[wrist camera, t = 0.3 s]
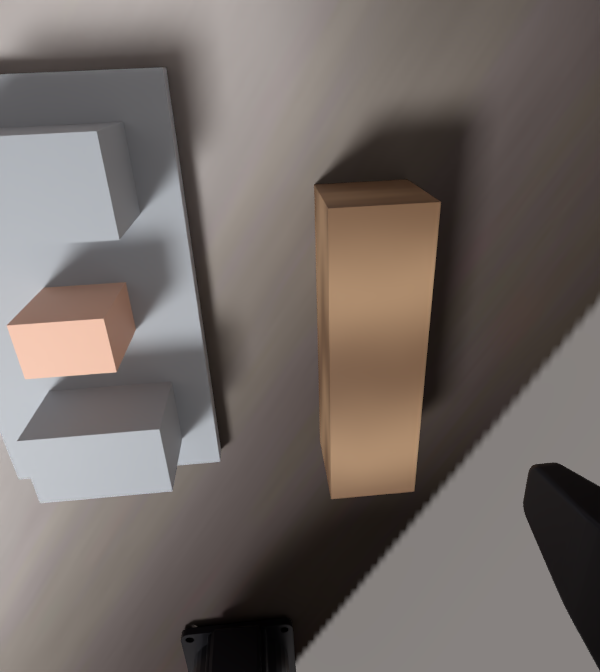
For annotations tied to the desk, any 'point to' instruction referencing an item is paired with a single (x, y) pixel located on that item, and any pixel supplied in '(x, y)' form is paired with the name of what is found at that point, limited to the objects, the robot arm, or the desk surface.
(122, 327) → the pale grey flat fixture
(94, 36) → the desk surface
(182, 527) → the desk surface
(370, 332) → the walnut bar
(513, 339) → the desk surface
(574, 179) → the desk surface
